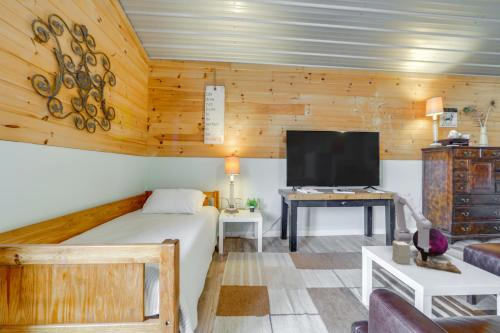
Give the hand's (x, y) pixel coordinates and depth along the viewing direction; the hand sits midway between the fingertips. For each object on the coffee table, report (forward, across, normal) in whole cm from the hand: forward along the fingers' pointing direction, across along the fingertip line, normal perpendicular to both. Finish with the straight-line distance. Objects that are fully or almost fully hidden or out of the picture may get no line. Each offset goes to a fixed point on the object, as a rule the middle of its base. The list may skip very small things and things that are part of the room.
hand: (423, 259), depth 143 cm
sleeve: (+1, 0, 0) cm, 1 cm away
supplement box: (+3, -3, +12) cm, 13 cm away
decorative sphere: (+3, +22, -8) cm, 24 cm away
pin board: (+3, 0, -6) cm, 7 cm away
